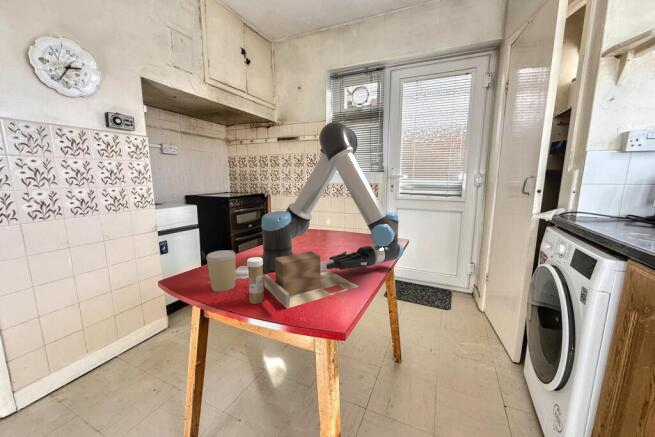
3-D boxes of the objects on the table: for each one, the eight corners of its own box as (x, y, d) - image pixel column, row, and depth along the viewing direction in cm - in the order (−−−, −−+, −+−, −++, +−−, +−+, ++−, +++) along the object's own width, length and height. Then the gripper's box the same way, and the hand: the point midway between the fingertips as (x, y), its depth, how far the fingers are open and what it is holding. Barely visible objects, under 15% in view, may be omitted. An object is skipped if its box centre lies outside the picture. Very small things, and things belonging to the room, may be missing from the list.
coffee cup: (243, 283, 93) (241, 251, 91) (225, 294, 84) (222, 259, 82) (222, 280, 96) (220, 249, 94) (202, 290, 87) (199, 256, 85)
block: (311, 281, 89) (310, 251, 88) (320, 287, 84) (320, 255, 83) (276, 291, 82) (274, 258, 81) (283, 298, 77) (282, 263, 76)
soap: (238, 271, 106) (237, 265, 105) (255, 271, 106) (254, 264, 105) (231, 280, 97) (230, 272, 96) (249, 279, 97) (249, 272, 97)
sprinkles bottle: (246, 301, 79) (243, 259, 77) (259, 296, 82) (256, 255, 80) (255, 306, 76) (252, 262, 74) (267, 300, 79) (265, 258, 77)
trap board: (329, 274, 100) (329, 260, 99) (359, 290, 85) (359, 274, 84) (264, 290, 86) (263, 275, 85) (286, 313, 71) (286, 295, 71)
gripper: (382, 269, 94) (327, 284, 81) (358, 260, 104) (307, 272, 92) (382, 249, 92) (327, 261, 80) (358, 242, 103) (307, 252, 91)
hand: (316, 267), depth 86 cm, fingers closed
